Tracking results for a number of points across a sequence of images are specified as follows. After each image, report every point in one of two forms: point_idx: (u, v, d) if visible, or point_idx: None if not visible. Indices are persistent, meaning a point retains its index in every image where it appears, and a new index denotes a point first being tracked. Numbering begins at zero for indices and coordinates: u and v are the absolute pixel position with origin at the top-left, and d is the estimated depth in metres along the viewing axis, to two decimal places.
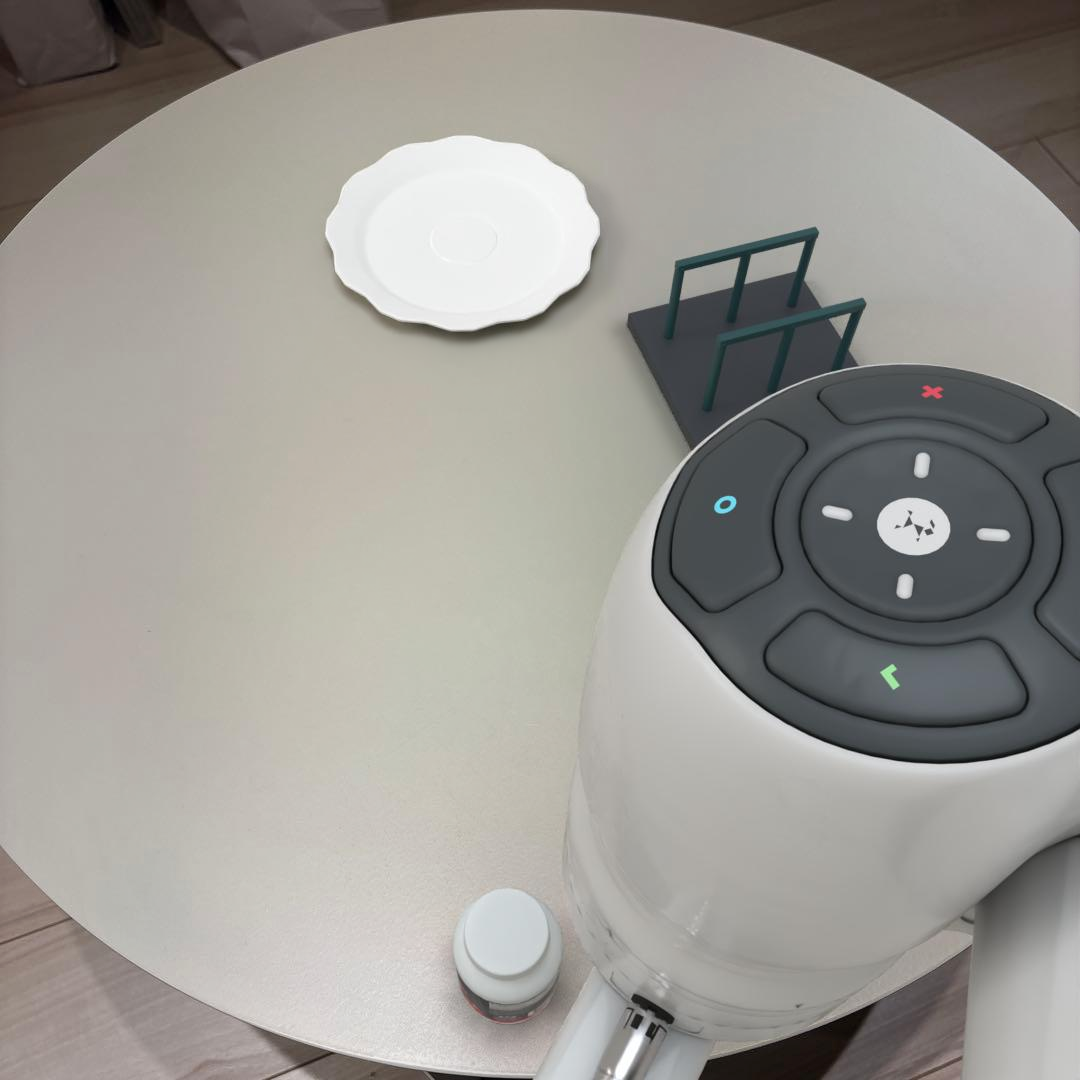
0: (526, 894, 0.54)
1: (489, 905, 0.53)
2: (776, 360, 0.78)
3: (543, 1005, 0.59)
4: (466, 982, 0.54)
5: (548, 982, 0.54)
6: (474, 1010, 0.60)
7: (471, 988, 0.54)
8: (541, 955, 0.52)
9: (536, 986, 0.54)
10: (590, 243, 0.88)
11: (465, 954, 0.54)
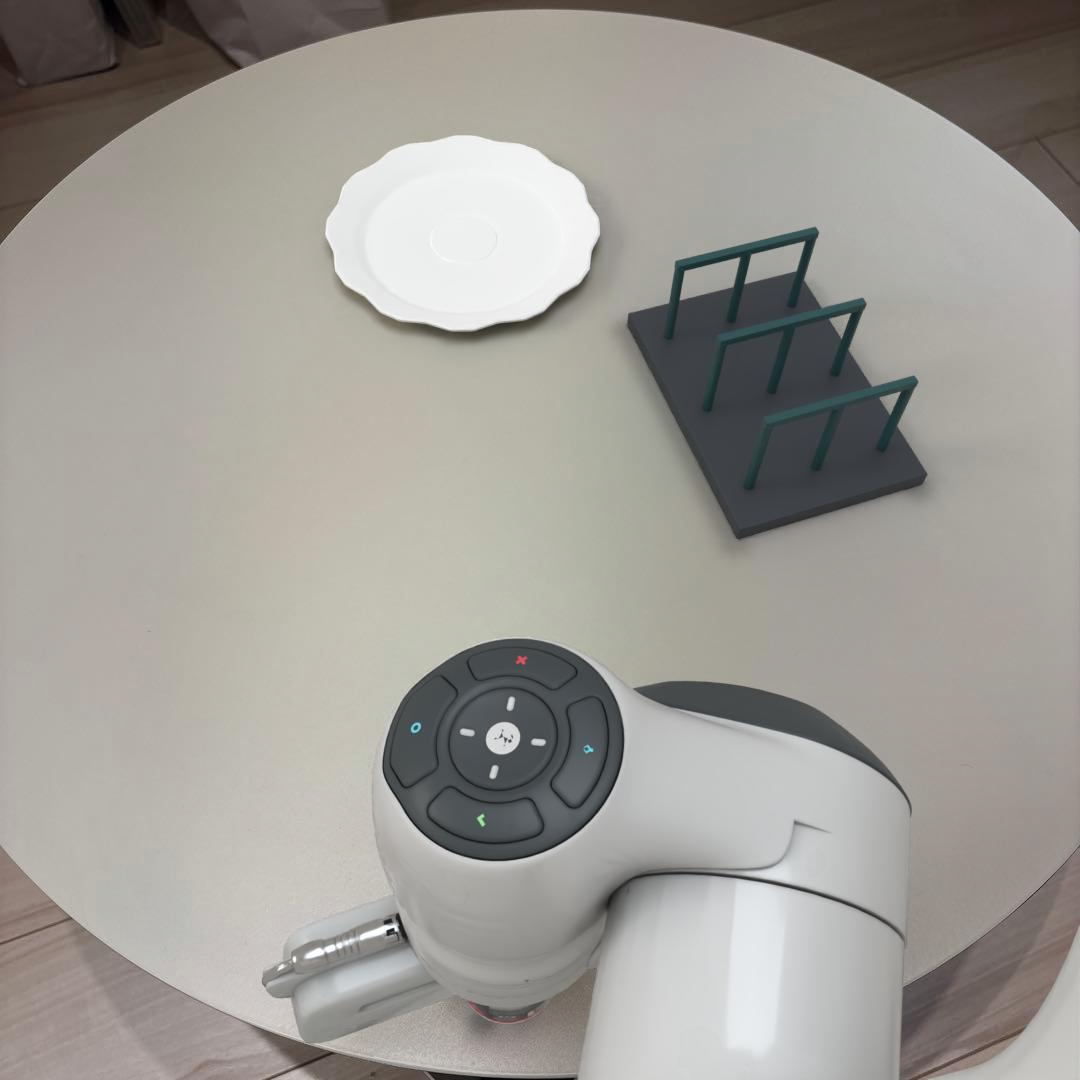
0: None
1: None
2: (776, 360, 0.78)
3: (543, 1005, 0.59)
4: None
5: None
6: (474, 1010, 0.60)
7: None
8: None
9: None
10: (590, 243, 0.88)
11: None
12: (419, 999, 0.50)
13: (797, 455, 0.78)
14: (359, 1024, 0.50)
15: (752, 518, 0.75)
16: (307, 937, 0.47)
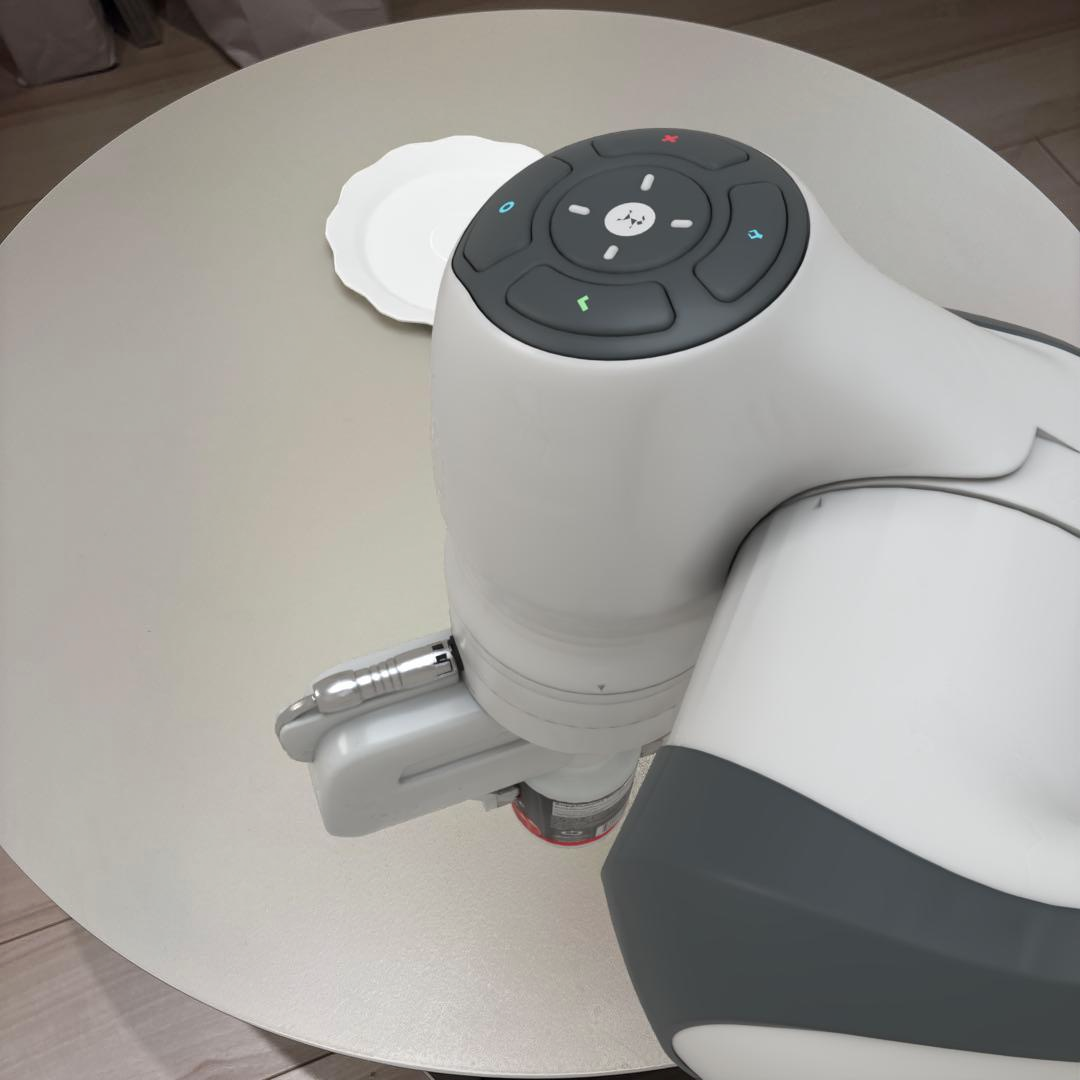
0: None
1: None
2: None
3: (614, 822, 0.48)
4: None
5: (626, 776, 0.44)
6: (529, 833, 0.49)
7: (531, 784, 0.44)
8: None
9: (612, 779, 0.43)
10: None
11: None
12: (473, 776, 0.40)
13: None
14: (397, 809, 0.40)
15: None
16: None
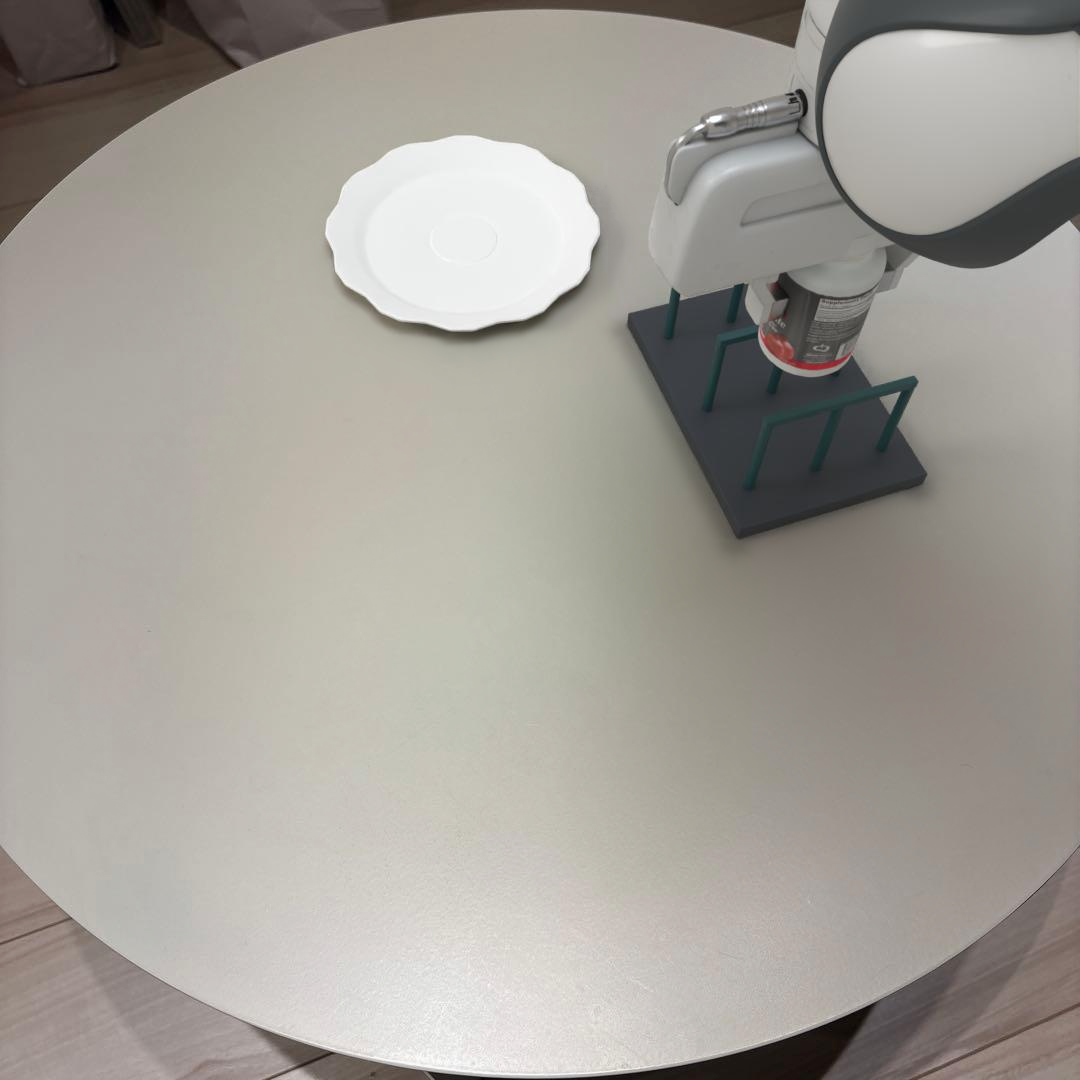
0: None
1: None
2: None
3: (849, 349, 0.62)
4: (800, 278, 0.57)
5: (877, 278, 0.57)
6: (779, 365, 0.63)
7: (805, 282, 0.57)
8: None
9: (869, 276, 0.57)
10: (590, 243, 0.88)
11: None
12: (784, 238, 0.53)
13: (797, 455, 0.78)
14: (726, 264, 0.53)
15: (752, 518, 0.75)
16: None
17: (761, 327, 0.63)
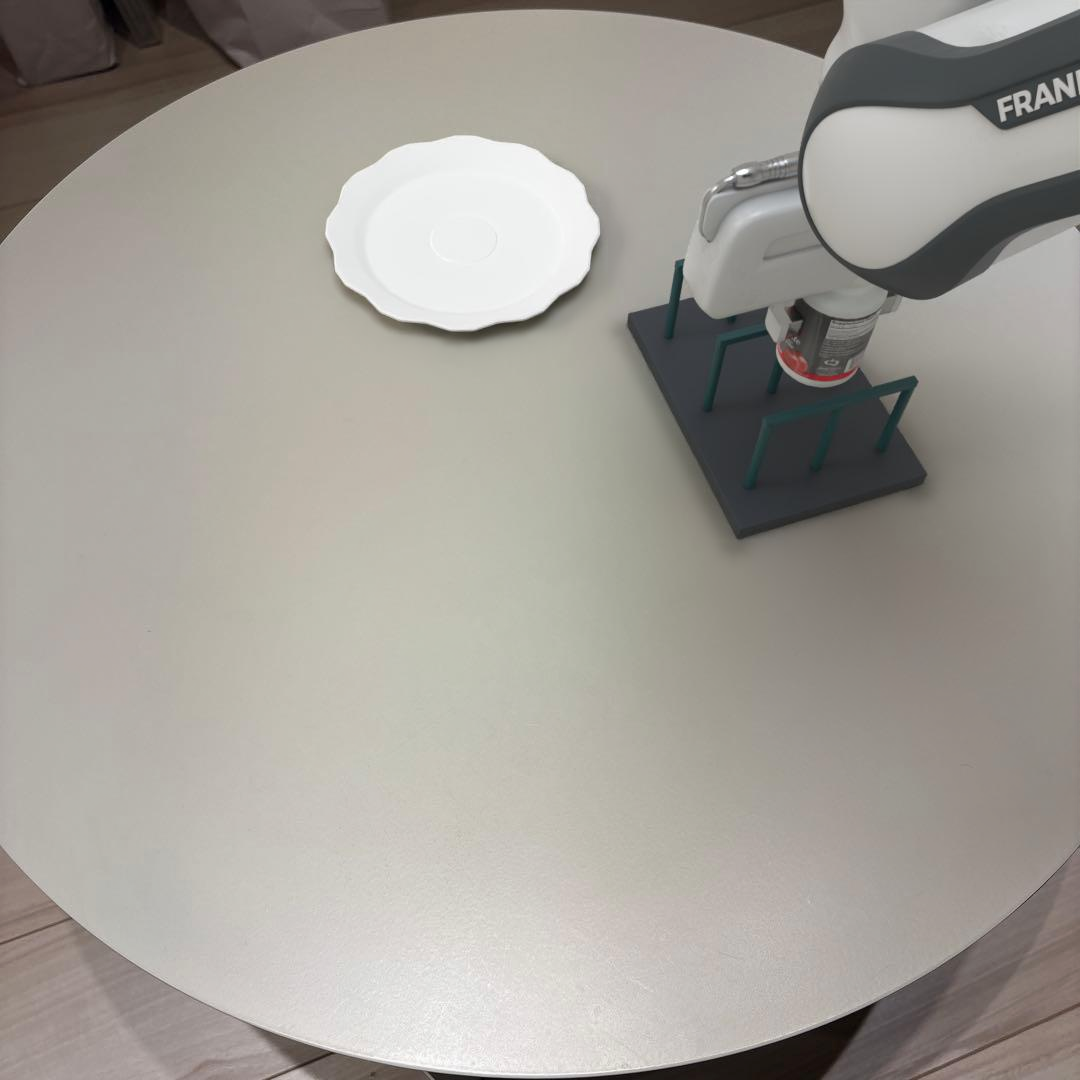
0: None
1: None
2: (776, 360, 0.78)
3: (856, 363, 0.70)
4: (813, 302, 0.66)
5: (881, 302, 0.66)
6: (794, 376, 0.71)
7: (818, 306, 0.66)
8: None
9: (873, 301, 0.66)
10: (590, 243, 0.88)
11: None
12: (800, 270, 0.62)
13: (797, 455, 0.78)
14: (751, 291, 0.62)
15: (752, 518, 0.75)
16: None
17: (779, 343, 0.72)
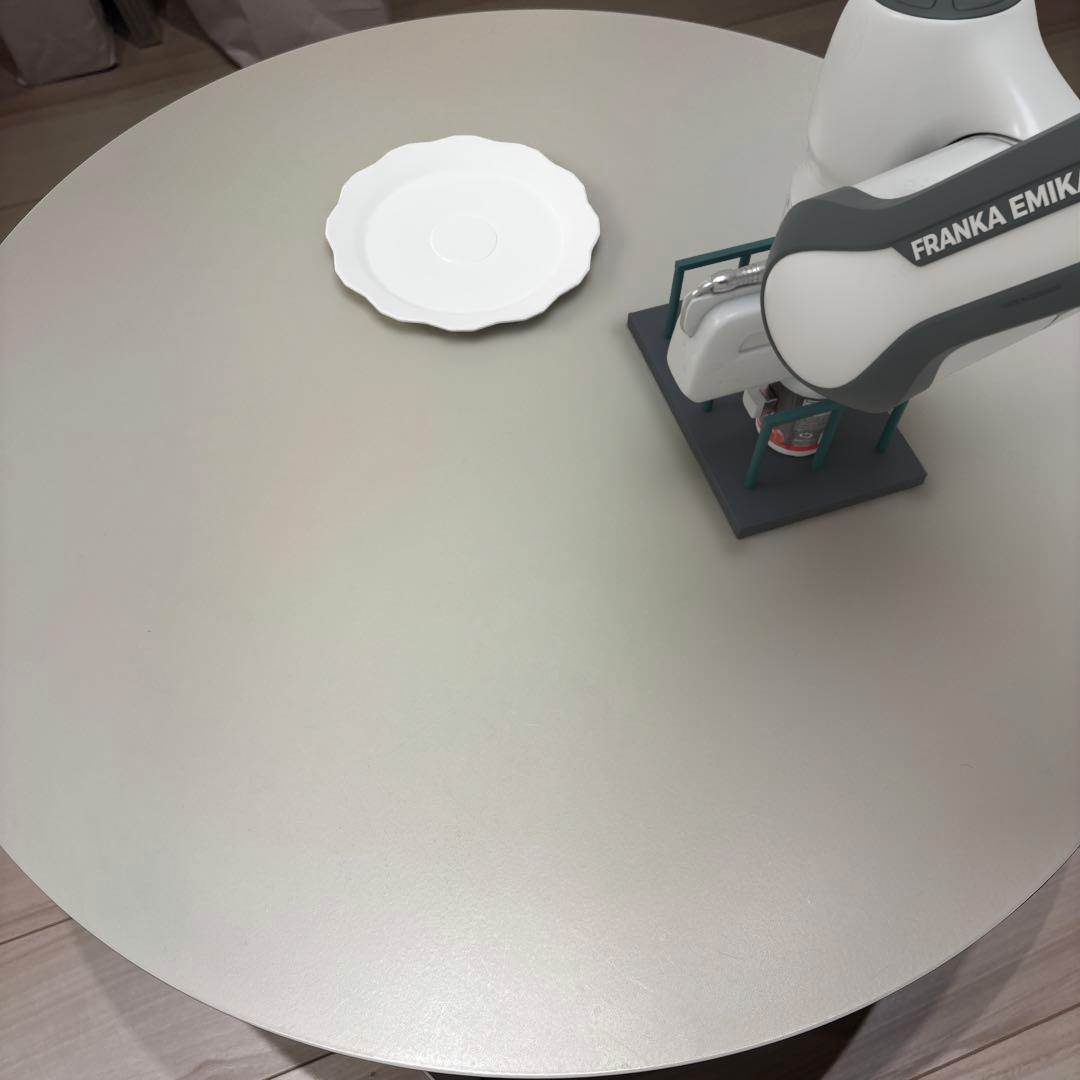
0: None
1: None
2: None
3: None
4: (788, 383, 0.72)
5: None
6: (772, 446, 0.78)
7: (792, 387, 0.72)
8: None
9: None
10: (590, 243, 0.88)
11: None
12: (773, 360, 0.68)
13: None
14: (728, 379, 0.68)
15: (752, 518, 0.75)
16: None
17: None
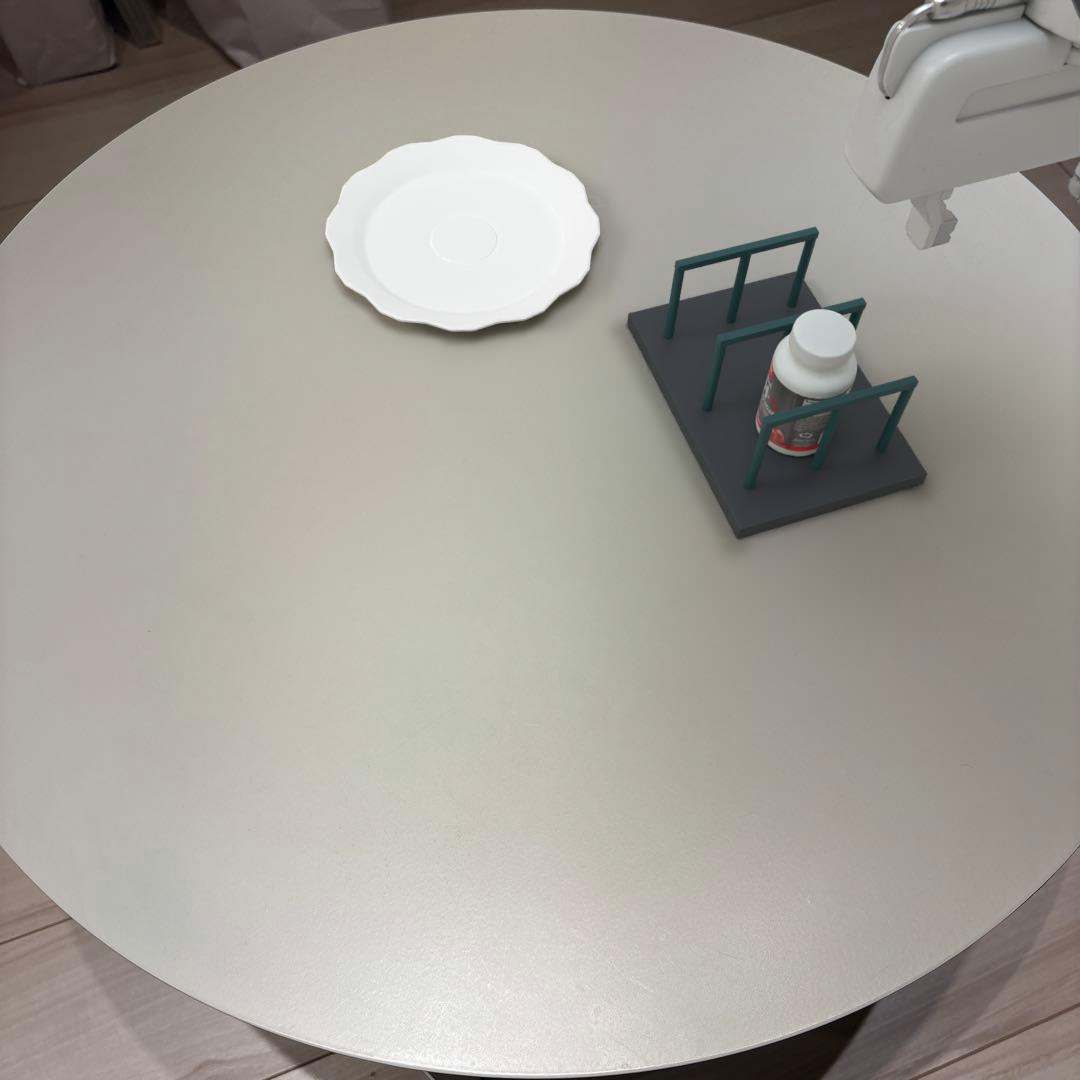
0: (836, 312, 0.72)
1: (809, 318, 0.71)
2: None
3: None
4: (788, 383, 0.72)
5: (849, 383, 0.72)
6: (772, 446, 0.78)
7: (792, 387, 0.72)
8: (853, 347, 0.70)
9: (842, 382, 0.72)
10: (590, 243, 0.88)
11: (787, 362, 0.72)
12: (995, 138, 0.50)
13: None
14: (934, 166, 0.50)
15: (752, 518, 0.75)
16: None
17: (758, 416, 0.78)
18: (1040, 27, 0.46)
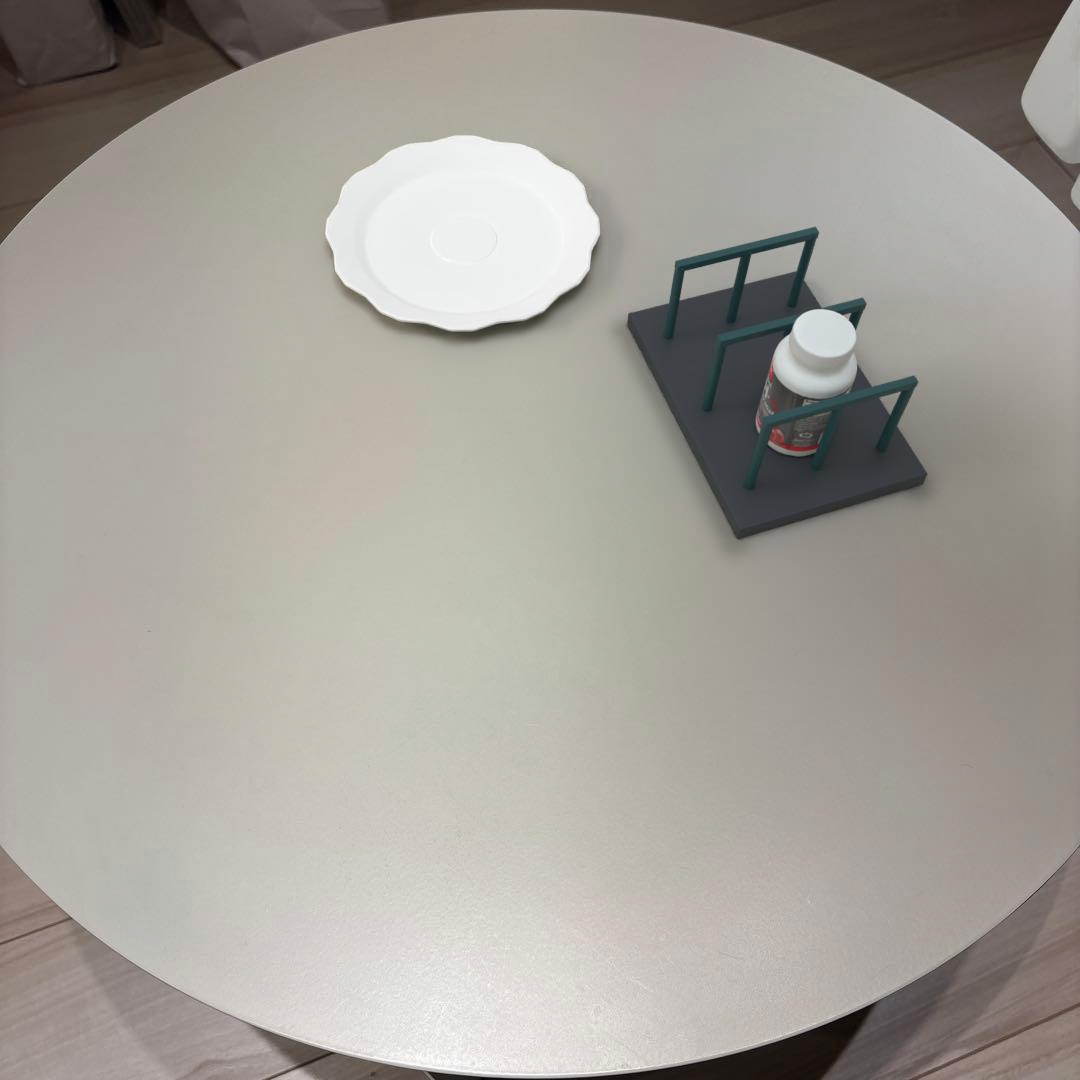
0: (836, 312, 0.72)
1: (809, 318, 0.71)
2: None
3: None
4: (788, 383, 0.72)
5: (849, 383, 0.72)
6: (772, 446, 0.78)
7: (792, 387, 0.72)
8: (853, 347, 0.70)
9: (842, 382, 0.72)
10: (590, 243, 0.88)
11: (787, 362, 0.72)
12: None
13: None
14: None
15: (752, 518, 0.75)
16: None
17: (758, 416, 0.78)
18: None
